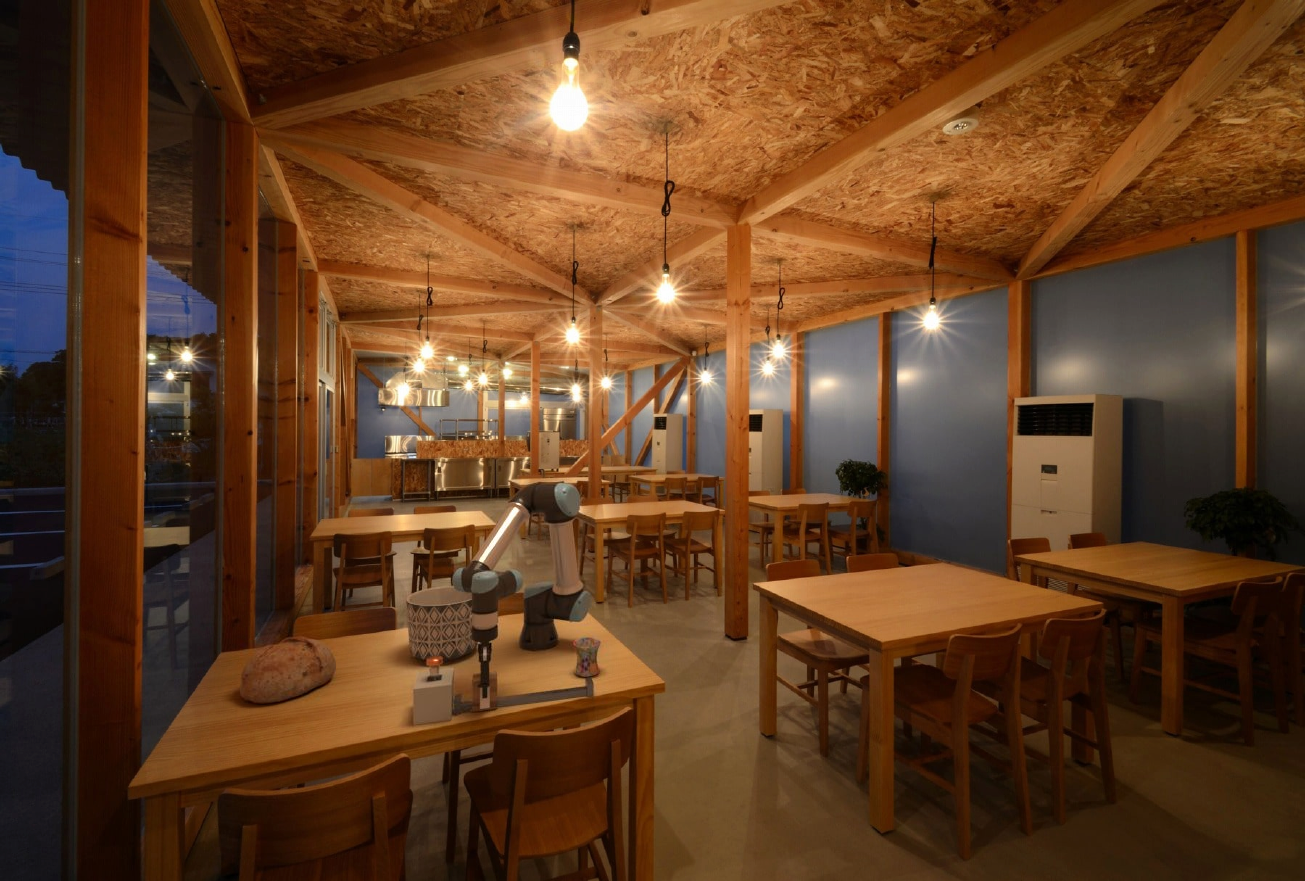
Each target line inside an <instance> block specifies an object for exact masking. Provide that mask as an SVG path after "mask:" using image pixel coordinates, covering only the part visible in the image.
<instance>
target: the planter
mask: <svg viewBox="0 0 1305 881" xmlns="http://www.w3.org/2000/svg"><path fill="white" fill-rule="evenodd" d="M405 600H406V601H405V602H406V615H407V616H406V617H407V630H408V645H409V646H408V647H409V654H410V655H411V656H412V657H414V659H418V660H422V661H426V660H427V658H429V657H432V656H442V657H443V662H448V661H453V660H456V659H459V658H461V657H463V656H465V655H467V654H469V653H471V652H473V651H474V650H475V649H476V648H477V647H478V644H479V642H475V641H473V640H472V627H473V626H472V619H471V618H470V615H472V593H466V592H462V591H458V590H456V589H455V588H454V586H453V585H448V586H447V585H445V586H437V587H430V588H426V589H422V590H418V591H415V592H412V593H411V594H409V595H407V597H406V599H405Z"/></svg>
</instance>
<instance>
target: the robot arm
mask: <svg viewBox="0 0 1305 881" xmlns="http://www.w3.org/2000/svg"><path fill="white" fill-rule="evenodd" d="M581 503H582V502H581V495H580V493H579V491H578V488H577V487H576V486H574V485H573V484H571V483H565V482H540V481H538V482H533V483H530V484H527V485H526V486H524V487H522V488H521V489H519V490H518V491H517V492H516V493H515V494H513V496H512V497H511V498H510V499H509V501H508V502H507V503H506V505H505V511H504V512H503V514H502V516H501V517H500V519H499V520H498V522H497V523H496V525H495V526H494V527H493V529H492V530H491V532H490V533H489V535H488V536H487V537H486V540H484V542H483V544H482V545H481V546H480V548H479V549H478V551H477V553H476V554H475V555H474V557H473V558H472V559H471V561H470V562H469V563H468V566H467V567H466V566H464V567H460V568H458V569H456V570H455V571H454V573H453V575H452V580H451V581H452V586H454V588H455V589H456V590H458V591H462V592H466V593H472V615H470V618H471V619H472V626H473V627H472V640H473V641H475V642H478V644H477V653H478V662H479V664H480V669H479V670H480V671H479V673H480V685H478V688H480V709H484V708H490V683H489V672H490V662H491V661H492V651H493V646H492V644H493V642H491V641H495V640H497V638H498V637H499V625H498V623H499V601H501V600H503V599H504V598H505V599H506V598H507V597H510V596H514V595H515V594H516V593H518V592H520V591H521V589H522V588H523V586H524V578H523V576H522V573H521V572H519V570H516V569H507V570H505V571H496V570H494V569H495V567H496V566H497V564H498V562H500V560H501V558H502V556H503V555H504V553H505V552H506V550H507V548H508V547H509V546H510V544H511V542H512V541H513V539H514V538H515V536H516V535H517V533H518V531H519V529H520V528H521V527H522V525H523V524H524V522H527V521H529V519H530V518H531V517H532V516H533V515H536V514H537V515H542V516H543V522H544V523H545V524H546V525H548V529H549V537H550V545H551V554H552V560H553V561H552V563H553V569H554V570H553V571H554V579H555V583H554V582H552V581H542V582H536V583H532V584H528V585H527V586H526V587H525V588H524V590H523V596H522V599H523V626H522V629H521V632H520V635H519V637H518V638H519V639H518V645H519V647H520V648H522V649H524V650H529V651H540V650H541V651H542V650H548V649H551V648H554V647H555V646H557V645H558V644H559V634H558V631H557V627H556V624H555V620H556V621H557V620H558V621H565V622H570V623H581V622H583V621H584V619H585V618H586V617H587V615H588V614H589V610H590V608H591V603H592V602H591V600H592V597H591V593H590V592H589V591H588V590H584V588H585V587H584V584H583V582H582V581H580V580H579V572H578V564H577V552H576V545H575V536H574V526H573V522H574V520H575V519H576V516H577V515H578V514H579V513H580V512H579V511H580V510H581Z"/></svg>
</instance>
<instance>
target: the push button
mask: <svg viewBox="0 0 1305 881" xmlns="http://www.w3.org/2000/svg"><path fill="white" fill-rule="evenodd" d="M425 661H426V666H428V667H429V671H430V681H438V680H439V670H440V666H441V665H442V664H443V662H444V661H443V657H442V656H432V657H429V658H427V660H425Z"/></svg>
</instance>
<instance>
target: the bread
mask: <svg viewBox="0 0 1305 881" xmlns="http://www.w3.org/2000/svg"><path fill="white" fill-rule="evenodd" d="M336 668H337V662H336V658H335V656H334V654H333V653H332V650H331V649H329V647H328V645H326V644H324V643H323V642H321V641H320V640H318V639H314V638H313V639H312V638H309V637H306V636H295V637H294V636H293V637H292V636H289V637H286V638H284V639H282V640H281V641H280V642H278V643H277V644H267V645H266V646H264V647H262V648H261V649H259V650H258V651H257V652H255V653H254V654H253V655H252V657H250V658H249V659H248V661H247V662H246V664H245V665H244V667H243V669H242V671H241V674H240V675H241V677H240V678H241V680H240V682H241V683H240V686H239V695H240V696H241V698H243V700H245V701H247V702H251V703H254V704H275V703H279V702H283V701H286V700H290V699H294V698H295V697H298V696H301V695H303V694H305V693H307V692H310V691H311V690H314V689H315V688H317V687H320V686H323V685H325V684H326V683H328V681H330V680H331V679H332V678H333V676H334V675H335V672H336V670H337V669H336Z"/></svg>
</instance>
